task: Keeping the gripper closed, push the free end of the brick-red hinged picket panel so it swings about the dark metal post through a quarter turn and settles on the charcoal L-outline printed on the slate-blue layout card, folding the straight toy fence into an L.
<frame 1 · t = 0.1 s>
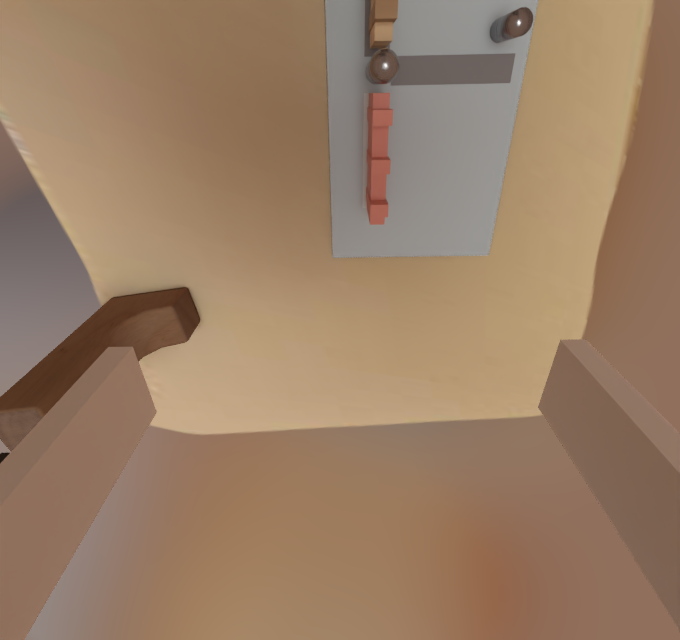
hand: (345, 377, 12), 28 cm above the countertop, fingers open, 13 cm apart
layout card: (422, 98, 32), on the countertop
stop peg: (500, 30, 29), resting on layout card
fence panel: (377, 160, 31), point 4 cm above the countertop, hinge at 0.0°
wooden block: (157, 308, 43), on the countertop
post: (376, 71, 31), resting on layout card
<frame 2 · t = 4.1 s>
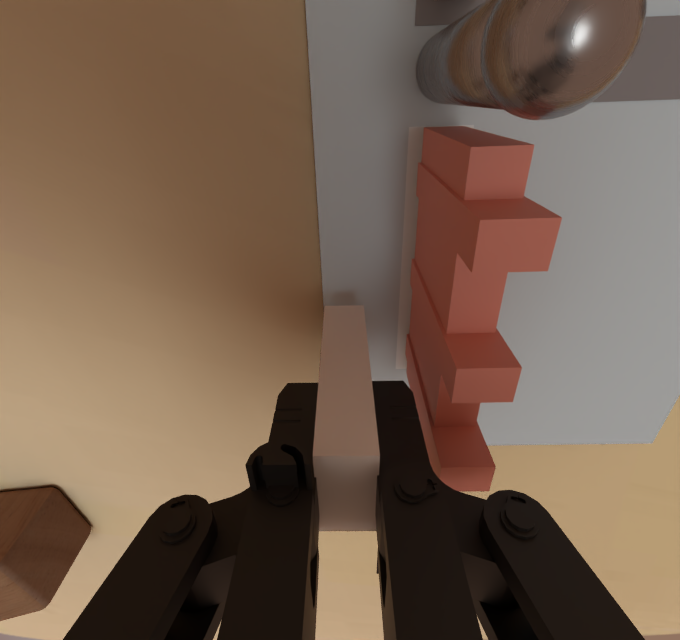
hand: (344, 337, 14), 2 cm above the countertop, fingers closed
layout card: (561, 138, 12), on the countertop
fence panel: (450, 314, 11), point 4 cm above the countertop, hinge at 0.2°, touching gripper
wooden block: (12, 510, 23), on the countertop
post: (446, 67, 11), resting on layout card
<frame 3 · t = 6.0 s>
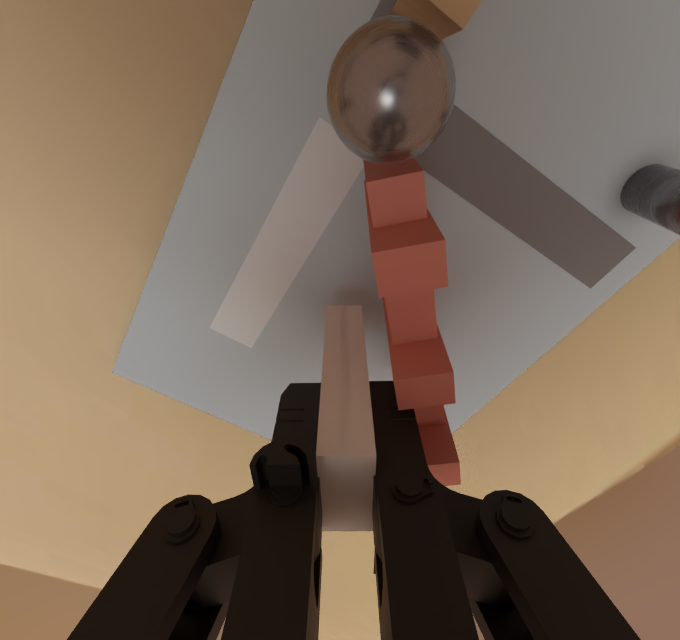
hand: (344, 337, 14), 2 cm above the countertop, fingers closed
layout card: (431, 211, 14), on the countertop
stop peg: (646, 189, 13), resting on layout card
fence panel: (408, 321, 12), point 4 cm above the countertop, hinge at 43.5°, touching gripper
post: (372, 89, 12), resting on layout card
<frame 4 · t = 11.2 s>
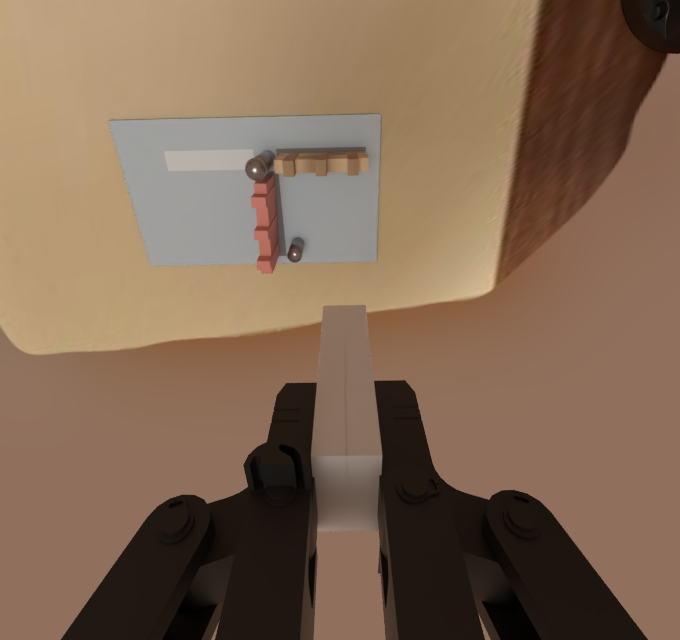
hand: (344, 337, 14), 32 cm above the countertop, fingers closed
layout card: (255, 196, 43), on the countertop
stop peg: (298, 243, 46), resting on layout card
fence panel: (266, 226, 41), point 4 cm above the countertop, hinge at 87.3°
fence fixed: (323, 157, 41), resting on layout card
post: (267, 159, 41), resting on layout card
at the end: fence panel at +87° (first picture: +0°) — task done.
